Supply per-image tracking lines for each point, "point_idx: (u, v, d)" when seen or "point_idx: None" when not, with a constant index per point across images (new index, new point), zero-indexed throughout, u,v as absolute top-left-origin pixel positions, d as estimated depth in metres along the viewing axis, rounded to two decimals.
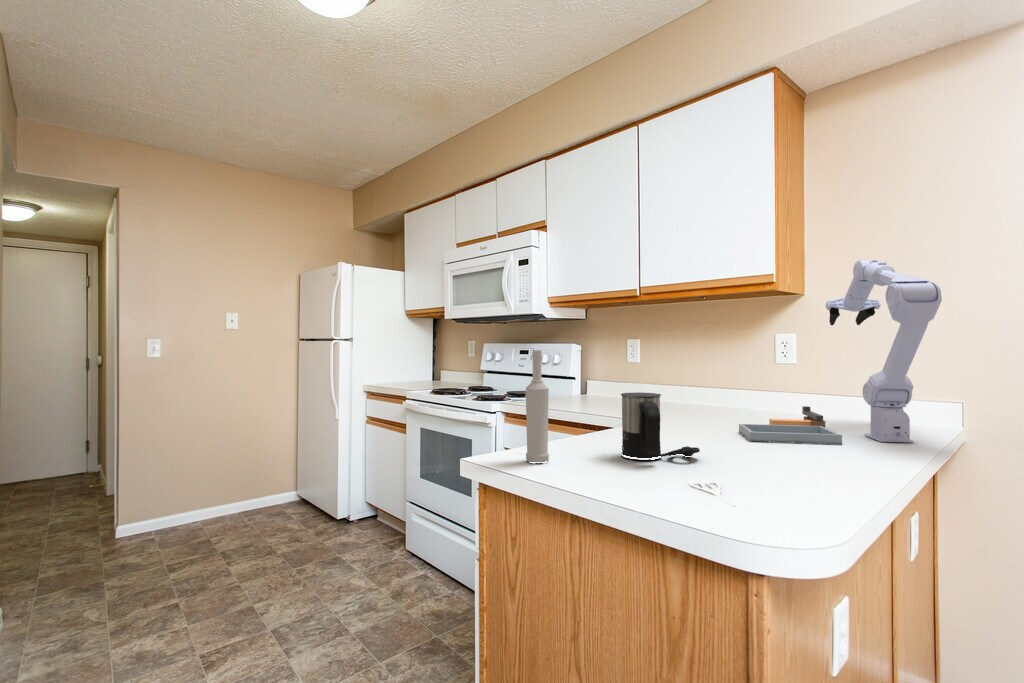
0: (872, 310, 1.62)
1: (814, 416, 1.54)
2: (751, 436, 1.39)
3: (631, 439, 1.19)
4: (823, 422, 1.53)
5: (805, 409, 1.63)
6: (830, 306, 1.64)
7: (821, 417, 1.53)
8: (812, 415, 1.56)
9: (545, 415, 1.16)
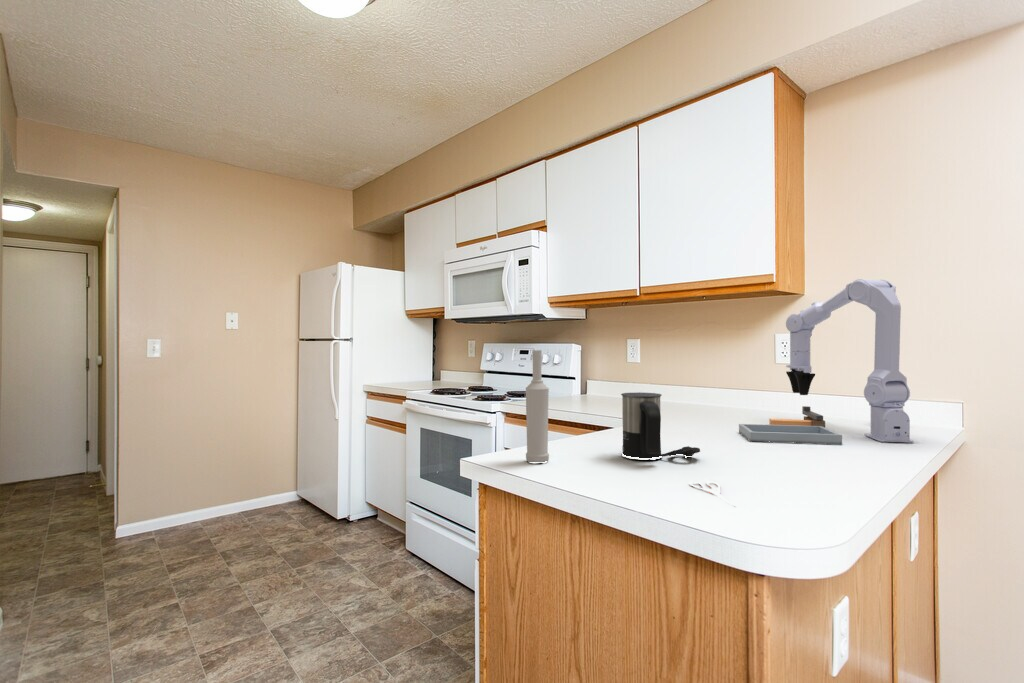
0: None
1: (814, 416, 1.54)
2: (751, 436, 1.39)
3: (632, 439, 1.19)
4: (823, 422, 1.53)
5: (805, 409, 1.63)
6: None
7: (821, 417, 1.53)
8: (812, 415, 1.56)
9: (545, 415, 1.16)
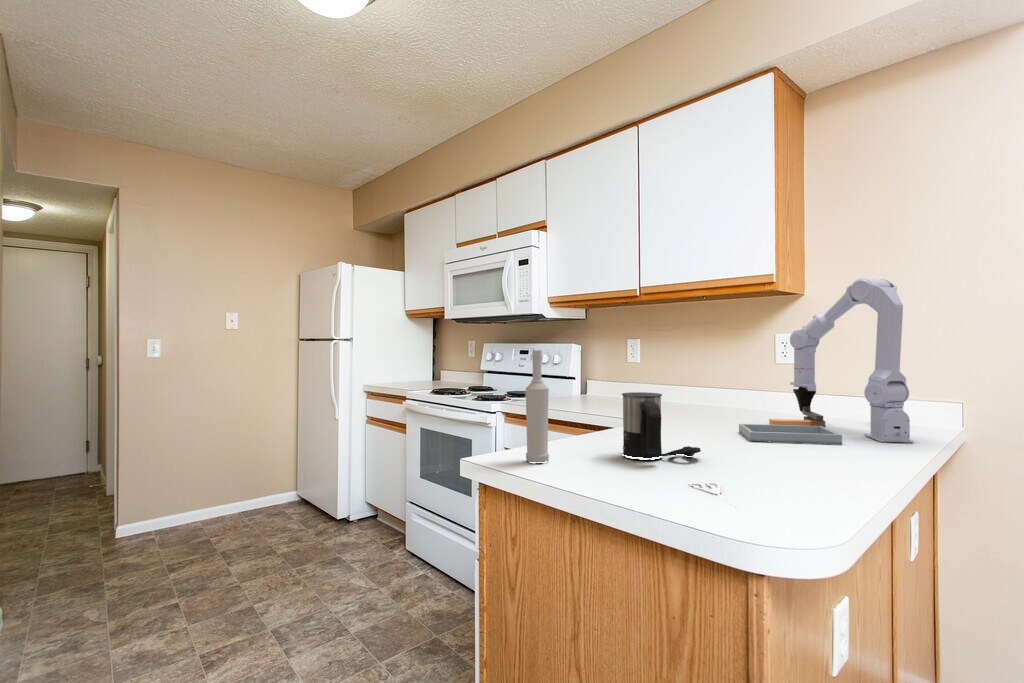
0: None
1: (814, 416, 1.54)
2: (751, 436, 1.39)
3: (632, 439, 1.19)
4: (823, 422, 1.53)
5: (805, 409, 1.63)
6: None
7: (821, 417, 1.52)
8: (812, 415, 1.56)
9: (545, 415, 1.16)
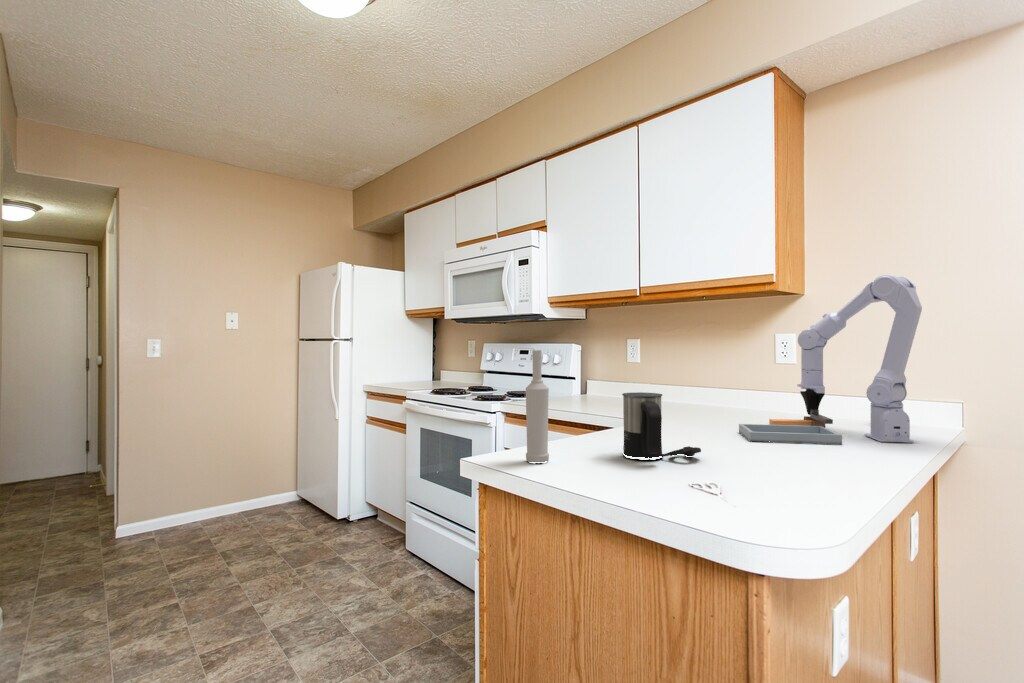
0: None
1: (823, 420, 1.47)
2: (751, 436, 1.39)
3: (633, 439, 1.19)
4: None
5: (813, 412, 1.56)
6: None
7: (830, 421, 1.46)
8: (821, 419, 1.49)
9: (545, 415, 1.16)
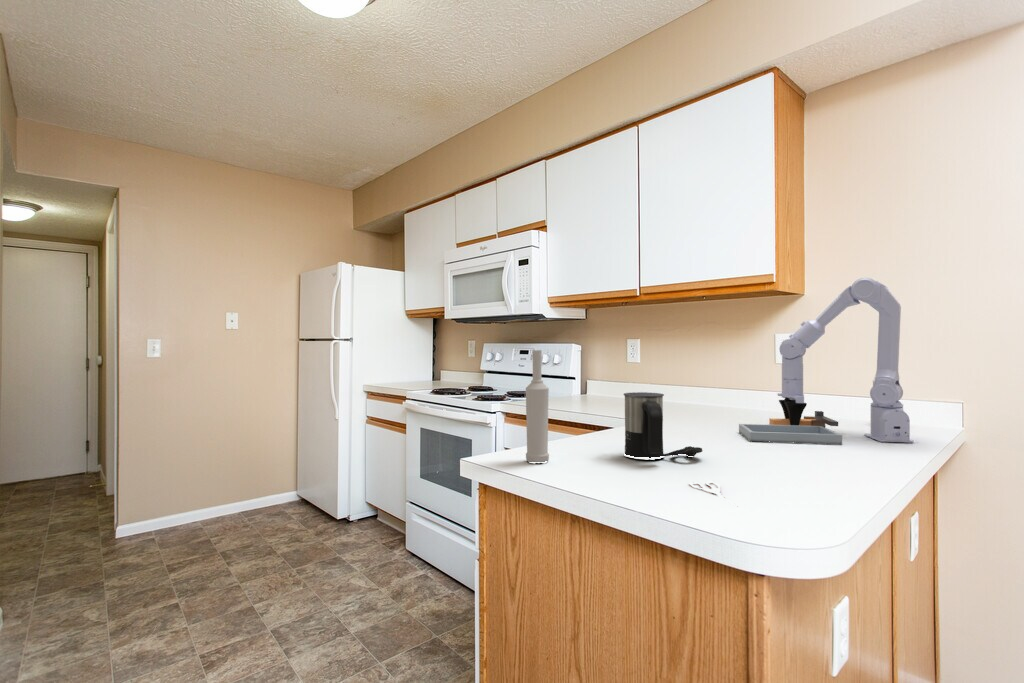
0: None
1: (828, 422, 1.44)
2: (751, 436, 1.39)
3: (634, 439, 1.19)
4: None
5: (818, 414, 1.52)
6: None
7: (836, 423, 1.42)
8: (826, 421, 1.45)
9: (545, 415, 1.16)
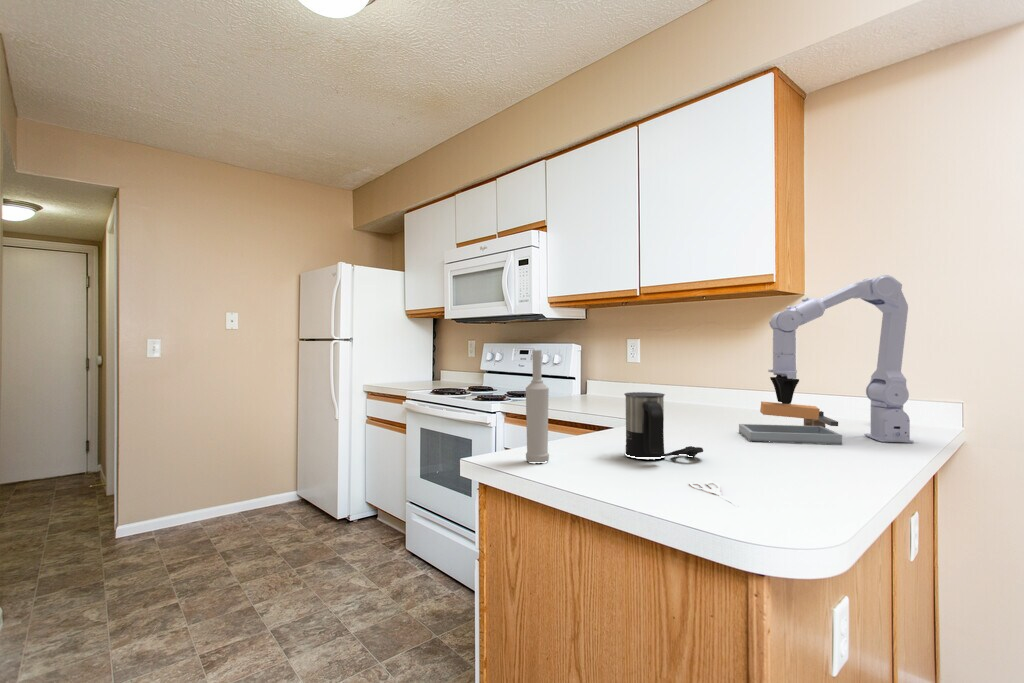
0: None
1: (828, 422, 1.44)
2: (751, 436, 1.39)
3: (635, 439, 1.19)
4: None
5: None
6: None
7: (836, 423, 1.42)
8: (826, 421, 1.45)
9: (545, 415, 1.16)
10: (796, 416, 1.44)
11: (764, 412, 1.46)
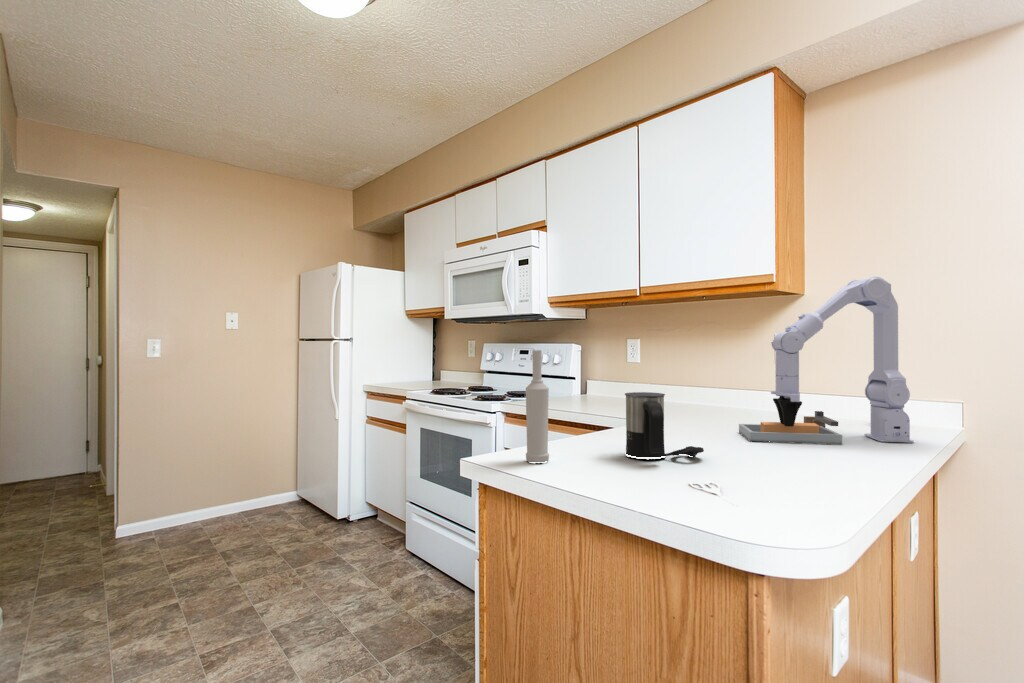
0: None
1: (828, 422, 1.44)
2: (751, 436, 1.39)
3: (635, 439, 1.19)
4: None
5: (818, 414, 1.52)
6: None
7: (836, 423, 1.42)
8: (826, 421, 1.45)
9: (545, 415, 1.16)
10: None
11: None
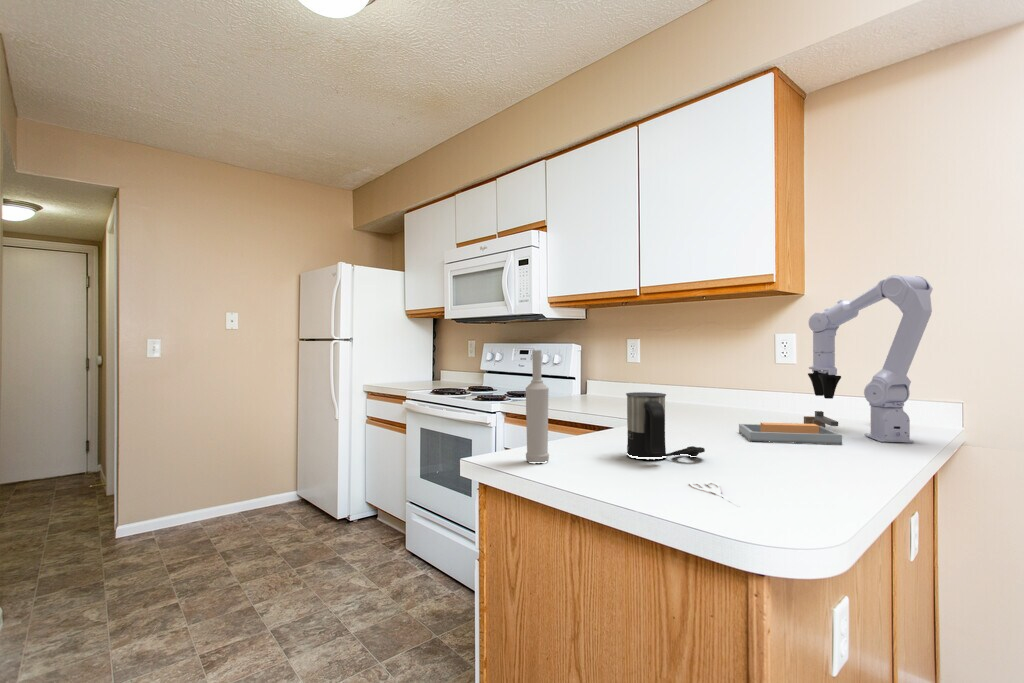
0: None
1: (828, 422, 1.44)
2: (751, 436, 1.39)
3: (636, 439, 1.19)
4: None
5: (818, 414, 1.52)
6: None
7: (836, 423, 1.42)
8: (826, 421, 1.45)
9: (545, 415, 1.16)
10: None
11: None
